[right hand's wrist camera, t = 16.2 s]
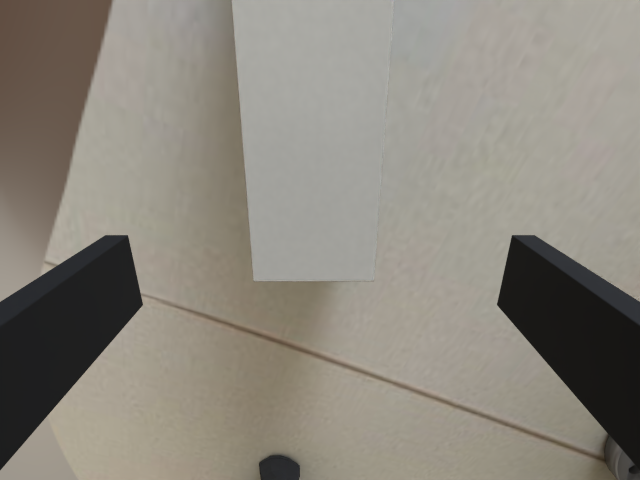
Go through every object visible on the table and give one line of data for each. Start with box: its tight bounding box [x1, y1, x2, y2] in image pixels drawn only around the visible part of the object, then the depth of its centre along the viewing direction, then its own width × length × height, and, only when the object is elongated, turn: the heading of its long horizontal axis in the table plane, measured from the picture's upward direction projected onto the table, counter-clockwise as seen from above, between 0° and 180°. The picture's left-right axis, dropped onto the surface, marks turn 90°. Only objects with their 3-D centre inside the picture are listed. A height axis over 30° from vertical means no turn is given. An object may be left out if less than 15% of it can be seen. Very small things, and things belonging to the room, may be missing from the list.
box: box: [231, 0, 394, 282], centre depth 17 cm, size 22×6×10 cm, turn 0°
